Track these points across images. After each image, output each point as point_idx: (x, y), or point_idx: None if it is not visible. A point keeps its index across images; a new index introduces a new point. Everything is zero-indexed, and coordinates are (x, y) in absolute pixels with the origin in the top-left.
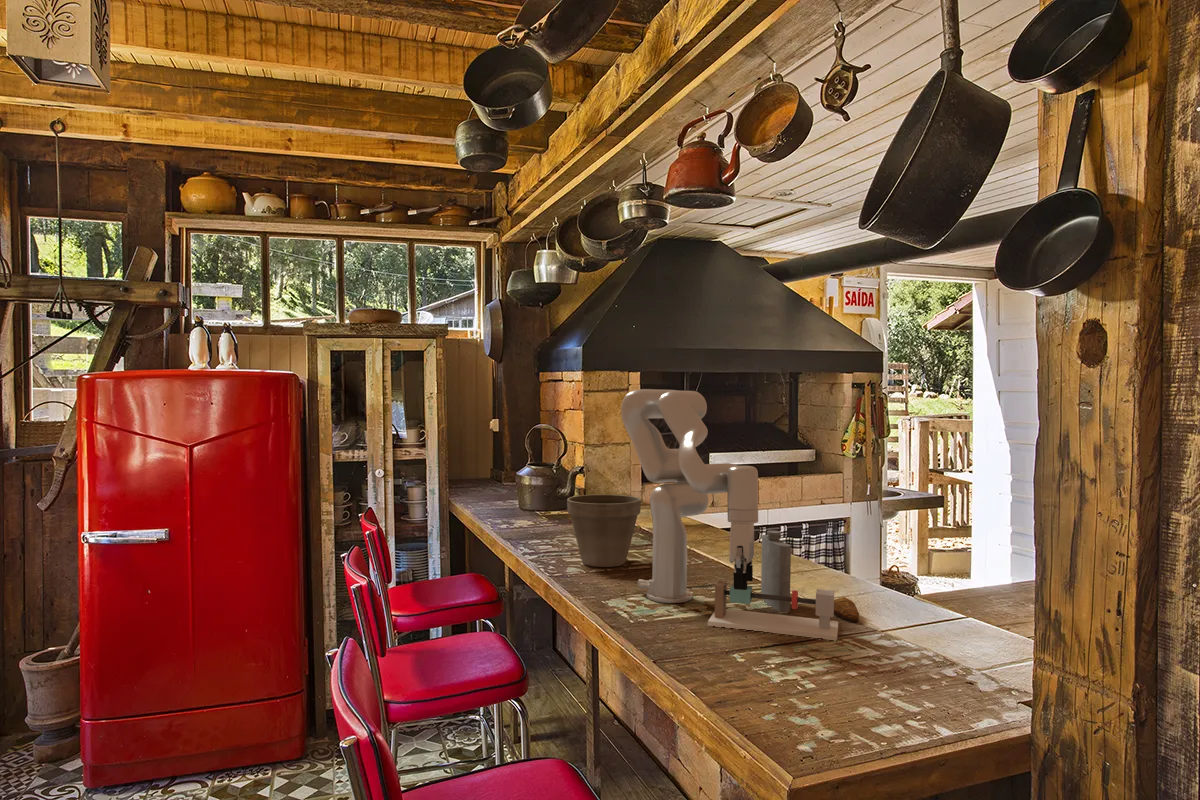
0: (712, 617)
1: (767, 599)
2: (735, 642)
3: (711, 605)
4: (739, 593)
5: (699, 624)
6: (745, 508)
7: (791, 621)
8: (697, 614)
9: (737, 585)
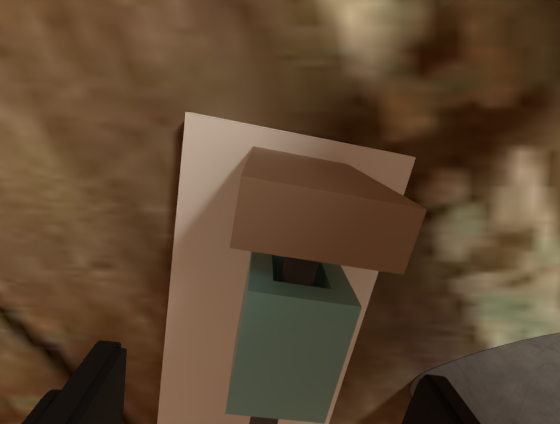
0: (249, 135)
1: (527, 360)
2: (11, 226)
3: (517, 129)
4: (239, 329)
5: (205, 69)
6: None
7: None
8: (366, 57)
9: (49, 396)
